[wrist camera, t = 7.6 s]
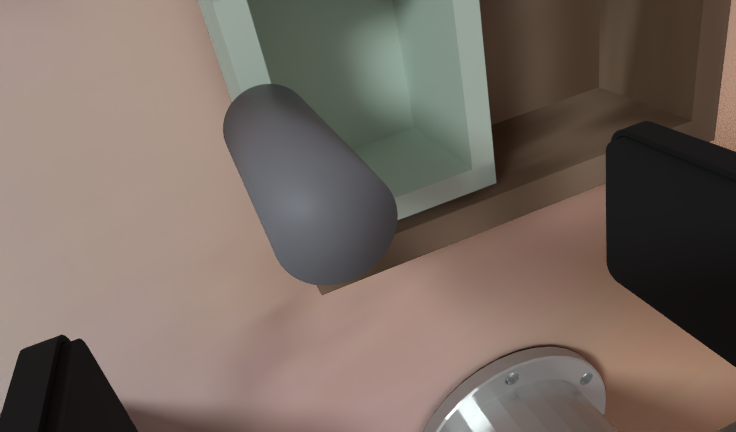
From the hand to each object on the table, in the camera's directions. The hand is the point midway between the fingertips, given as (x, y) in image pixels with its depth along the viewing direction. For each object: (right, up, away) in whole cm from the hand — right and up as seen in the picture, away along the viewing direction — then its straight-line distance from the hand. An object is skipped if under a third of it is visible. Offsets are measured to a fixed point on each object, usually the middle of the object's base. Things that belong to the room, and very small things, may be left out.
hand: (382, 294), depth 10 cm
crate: (-2, +7, +10) cm, 13 cm away
